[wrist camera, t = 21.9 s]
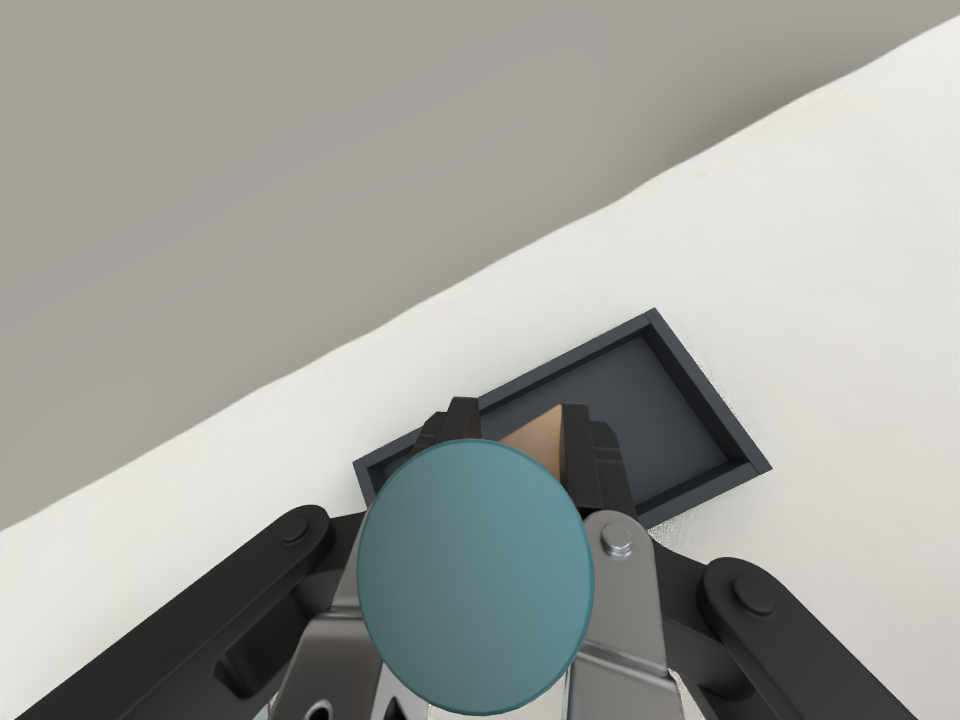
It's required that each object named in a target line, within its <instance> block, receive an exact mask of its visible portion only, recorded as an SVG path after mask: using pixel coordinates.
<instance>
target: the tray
mask: <svg viewBox="0 0 960 720" xmlns="http://www.w3.org/2000/svg"><path fill="white" fill-rule="evenodd" d="M477 399H478V403H479V413H480V424H481V435H482V439H485V440H490V441H495V442H498V441H499V440H501V439H503V438H504V437H506V436H508V435H509V434H511V433H513V432H514V431H516V430H517V429H519V428H521V427H522V426H524V425H526V424H527V423H529V422H531V421H532V420H534V419H535V418H537V417H539V416H540V415H542V414H544V413H545V412H547V411H548V410H550V409H552V408H553V407H555V406H557V405H559V404H560V405H561V406H562V402H573V403H587V404H588V409H589V415H590V421H604V422H607V423H608V424H609V426H610V427H611V428H612V429H613V430H614V432H615V433H616V434H617V437H618V441H619V445H620V449H621V450H620V451H621V453H622V457H623V461H624V462H623V464H624V465H625V470H626V474H627V478H628V482H629V486H630V490H631V494H632V498H633V502H634V507H635V511H636V514H637V517H638V520H639V522H640V524H641V525H642V527H643V528H644V529H645V530H648V529H650V528H652V527H654V526H656V525H658V524H660V523H662V522H664V521H666V520H669V519H671V518H673V517H675V516H677V515H679V514H681V513H683V512H685V511H687V510H689V509H691V508H693V507H695V506H697V505H699V504H701V503H703V502H706V501H708V500H710V499H712V498H714V497H716V496H718V495H720V494H722V493H724V492H726V491H728V490H730V489H732V488H734V487H736V486H738V485H740V484H743V483H745V482H747V481H749V480H751V479H753V478H755V477H757V476H758V475H761V474H763V473H766V472H768V471H770V470H772V469H773V468H772V466H771V465H770V464H769V462H768V461H767V459H766V458H765V457H764V455H763V454H762V453H761V451H760V450H759V449H758V447H757V446H756V444H755V443H754V442H753V440H752V439H751V438H750V436H749V435H748V434H747V432H746V431H745V429H744V428H743V427H742V425H741V424H740V423H739V421H738V420H737V419H736V417H735V416H734V414H733V413H732V412H731V410H730V409H729V408H728V406H727V405H726V404H725V402H724V401H723V399H722V398H721V397H720V395H719V394H718V393H717V391H716V390H715V388H714V387H713V386H712V384H711V383H710V382H709V380H708V379H707V378H706V376H705V375H704V373H703V372H702V371H701V369H700V368H699V367H698V365H697V364H696V363H695V361H694V360H693V358H692V357H691V356H690V354H689V353H688V352H687V350H686V349H685V348H684V346H683V345H682V343H681V342H680V341H679V339H678V338H677V337H676V335H675V334H674V333H673V331H672V330H671V328H670V327H669V326H668V324H667V323H666V322H665V320H664V319H663V318H662V316H661V315H660V313H659V312H658V311H657V309H656V308H653V309H651V310H649V311H647V312H645V313H644V314H641V315H639V316H637V317H635V318H633V319H631V320H629V321H627V322H625V323H623V324H621V325H620V326H618V327H616V328H614V329H612V330H610V331H608V332H606V333H604V334H602V335H600V336H598V337H596V338H594V339H592V340H590V341H588V342H586V343H584V344H582V345H580V346H578V347H576V348H574V349H573V350H571V351H569V352H567V353H565V354H563V355H561V356H559V357H557V358H555V359H553V360H551V361H549V362H547V363H545V364H543V365H541V366H539V367H537V368H535V369H533V370H531V371H529V372H527V373H526V374H524V375H522V376H520V377H518V378H516V379H514V380H512V381H510V382H508V383H506V384H504V385H502V386H500V387H498V388H496V389H494V390H492V391H490V392H488V393H486V394H484V395H482V396H480V397H479V398H477ZM422 428H423V426H422V427H420V428H418V429H416V430H414V431H412V432H410V433H408V434H406V435H404V436H402V437H400V438H398V439H396V440H394V441H392V442H390V443H388V444H387V445H385V446H383V447H381V448H379V449H377V450H375V451H373V452H371V453H369V454H367V455H365V456H363V457H361V458H359V459H357V460H355V461H354V462H353V466H354V469H355V472H356V475H357V478H358V481H359V484H360V488H361V491H362V494H363V497H364V500H365V503H366V506H367V509H368V507H369V506H370V505H371V503H372V502H373V501H374V500H375V498H376V496H377V495H378V493H379V492H380V490H381V489H382V487H383V486H384V484H385V483H386V482H387V480H388V479H389V478H390V477H391V476H392V475H393V473H394V472H395V471H396V470H397V469H399V468H400V467H401V466H402V465H403V464H404V463H405V462H406V461H407V459H408V457H409V455H410V453H411V451H412V448H414V444H415V442H416V440H417V438H418V437H419V434H420V432H421V430H422Z"/></svg>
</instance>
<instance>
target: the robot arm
mask: <svg viewBox="0 0 960 720" xmlns="http://www.w3.org/2000/svg"><path fill="white" fill-rule="evenodd" d="M457 439H482V435H481V424H480V413H479V403H478V399H477V398H473V397H453V399H452V401H451V403H450V406H449V408H448V410H447V412H436V413H435V414H434V415H432V416H431V417H430V418H429V419H428V420H427V421H426V422H425V424H424V426H423V428H422V430H421V432H420V434H419V437H418V438H417V440H416V442H415V444H414V448H412V451H411V453H410V455H409V457H408V459H407V461H408V460H409V459H411V458H412V457H413V456H415V455H416V454H418V453H420V452H422V451H424V450H426V449H427V448H429V447H432V446H435V445H437V444H440V443H443V442H447V441H452V440H457ZM620 450H621V449H620V445H619V441H618V437H617V434H616V433H615V432H614V430H613V429H612V428H611V427H610V426H609V424H608V423H607V422H604V421H590V415H589V409H588V404H587V403H573V402H562V408H561V425H560V443H559V467H560V484H561V485H562V486H563V488H564V489H565V490H566V492H567V493H568V495H569V496H570V498H571V499H572V501H573V503H574V505H575V506H576V508H577V510H578V512H579V514H580V516H581V519H582V521H583V524H584V526H585V529H586V531H587V535H588V539H589V542H590V546H591V550H592V557H593V564H594V580H595V590H594V600H593V609H592V613H591V618H590V622H589V626H588V629H587V632H586V635H585V637H584V640H583V643H582V645H581V647H580V649H579V651H578V653H577V655H576V656H575V658H574V660H573V662H572V663H571V665H570V666H569V667H568V669H567V670H566V675H565V687H564V698H563V709H562V719H561V720H685V719H684V712H683V706H682V701H681V697H680V693H679V689H678V686H677V684H676V681H675V680H674V678H673V677H672V676H671V675H670V673H669V670H668V668H670V669H672V670H673V671H675V672H677V673H678V674H679V676H680V678H681V679H682V681H683V683H684V684H685V686H686V687H687V689H688V691H689V692H690V694H691V696H692V697H693V699H694V701H695V702H696V704H697V705H698V707H699V709H700V710H701V712H702V714H703V715H704V717H705V719H706V720H918V719H917V718H916V717H915V716H914V715H913V714H912V713H911V712H910V711H909V710H908V709H907V708H906V707H905V706H904V705H903V704H902V703H901V702H900V701H899V700H898V699H897V698H896V697H895V696H894V695H893V694H892V693H891V692H890V691H889V690H888V689H887V688H886V687H885V686H884V685H883V684H882V683H881V682H880V681H879V680H878V679H877V678H876V677H875V676H874V675H873V674H872V673H871V672H870V671H869V670H868V669H867V668H866V667H865V666H864V665H863V664H862V663H861V662H860V661H859V660H858V659H857V658H856V657H855V656H854V655H853V654H852V653H851V652H850V651H849V650H848V649H847V648H846V647H845V646H844V645H843V644H842V643H841V642H840V641H839V640H838V639H837V638H836V637H835V636H834V635H833V634H832V633H831V632H830V631H829V630H828V629H827V628H826V627H825V626H824V625H823V624H822V623H821V622H820V621H819V620H818V619H817V618H816V617H815V616H814V615H813V614H812V613H811V612H810V611H809V610H808V609H807V608H806V607H805V606H804V605H803V604H802V603H801V602H800V601H799V600H798V599H797V598H796V597H795V596H794V595H793V594H792V593H791V592H790V591H789V590H788V589H787V588H786V587H785V586H784V585H782V584H781V583H780V582H779V581H778V580H777V579H776V578H775V577H773V576H772V575H771V574H769V573H768V572H767V571H765V570H763V569H762V568H760V567H758V566H756V565H754V564H752V563H750V562H747V561H745V560H742V559H738V558H732V557H722V558H718V559H715V560H713V561H711V562H710V563H709V564H708V565H704V564H702V563H699V562H697V561H694V560H692V559H690V558H687V557H685V556H682V555H680V554H677V553H675V552H673V551H671V550H669V549H667V548H665V547H664V546H662V545H661V544H659V543H658V542H657V541H655V540H654V539H653V538H652V537H651V536H650V535H649V534H648V533H647V532H646V530H645V529H644V528H643V527H642V525H641V524H640V522H639V520H638V517H637V514H636V511H635V507H634V502H633V498H632V494H631V490H630V486H629V482H628V478H627V474H626V470H625V465H624V464H623V462H624V461H623V457H622V453H621V451H620ZM373 502H374V501H373ZM373 502H372V503H371V505H370V506H369V507H368V509H367V511H364V512H360V513H356V514H351V515H346V516H340V517H335V518H329V516H328V514H327V512H326V510H325V509H324V508H322V507H320V506H317V505H304V506H300V507H297V508H295V509H292V510H290V511H288V512H287V513H285V514H284V515H282V516H281V517H279V518H278V519H277V520H275V521H274V522H273V523H272V524H270V525H269V526H268V527H266V528H265V529H264V530H262V531H261V532H260V533H258V534H257V535H256V536H254V537H253V538H252V539H251V540H249V541H248V542H247V543H245V544H244V545H243V546H241V547H240V548H239V549H237V550H236V551H235V552H234V553H232V554H231V555H230V556H228V557H227V558H226V559H224V560H223V561H222V562H220V563H219V564H218V565H216V566H215V567H214V568H213V569H211V570H210V571H209V572H207V573H206V574H205V575H203V576H202V577H201V578H199V579H198V580H197V581H195V582H194V583H193V584H192V585H190V586H189V587H188V588H186V589H185V590H184V591H182V592H181V593H180V594H178V595H177V596H176V597H174V598H173V599H172V600H171V601H169V602H168V603H167V604H165V605H164V606H163V607H161V608H160V609H159V610H157V611H156V612H155V613H154V614H152V615H151V616H150V617H148V618H147V619H146V620H144V621H143V622H142V623H140V624H139V625H138V626H136V627H135V628H134V629H133V630H131V631H130V632H129V633H127V634H126V635H125V636H123V637H122V638H121V639H119V640H118V641H117V642H115V643H114V644H113V645H112V646H110V647H109V648H108V649H106V650H105V651H104V652H102V653H101V654H100V655H98V656H97V657H96V658H95V659H93V660H92V661H91V662H89V663H88V664H87V665H85V666H84V667H83V668H81V669H80V670H79V671H77V672H76V673H75V674H74V675H72V676H71V677H70V678H68V679H67V680H66V681H64V682H63V683H62V684H60V685H59V686H58V687H56V688H55V689H54V690H53V691H51V692H50V693H49V694H47V695H46V696H45V697H43V698H42V699H41V700H39V701H38V702H37V703H36V704H34V705H33V706H32V707H30V708H29V709H28V710H26V711H25V712H24V713H22V714H21V715H20V716H18V717H17V718H16V719H15V720H253V719H254V718H255V716H256V715H257V714H258V713H259V712H260V711H261V710H262V709H263V708H264V706H265V705H266V704H267V703H268V702H269V701H270V700H271V699H272V698H273V696H274V695H275V694H276V693H277V692H278V691H279V692H278V694H277V697H276V699H275V702H274V704H273V706H272V709H271V711H270V714H269V716H268V719H267V720H427V718H428V705H429V703H428V702H426V701H425V700H423V699H421V698H419V697H418V696H416V695H415V694H414V693H413V692H411V691H410V690H409V689H408V688H406V687H405V686H404V685H403V684H402V683H401V682H400V681H399V680H398V679H397V678H396V677H395V676H394V675H393V674H392V673H391V671H390V670H389V669H388V667H387V666H386V664H385V663H384V662H383V660H382V659H381V657H380V656H379V654H378V652H377V650H376V649H375V647H374V645H373V643H372V641H371V639H370V636H369V634H368V631H367V629H366V627H365V623H364V620H363V616H362V613H361V610H360V604H359V598H358V593H357V578H356V568H357V554H358V547H359V541H360V537H361V533H362V529H363V526H364V523H365V520H366V518H367V515H368V512H369V510H370V508H371V506H372V504H373Z"/></svg>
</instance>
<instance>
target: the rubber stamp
mask: <svg viewBox="0 0 960 720" xmlns="http://www.w3.org/2000/svg"><path fill="white" fill-rule="evenodd" d="M561 408H562V406H561V405H560V404H559V405H557V406H555V407H553V408H552V409H550V410H548V411H547V412H545V413H544V414H542V415H540V416H539V417H537V418H535V419H534V420H532V421H531V422H529V423H527V424H526V425H524V426H522V427H521V428H519V429H517V430H516V431H514V432H513V433H511V434H509V435H508V436H506V437H504V438H503V439H501V440H499V441H498V442H495V441H490V440H485V439H457V440H452V441H447V442H443V443H440V444H437V445H435V446H432V447H429V448H427V449H426V450H424V451H422V452H420V453H418V454H416V455H415V456H413V457H412V458H411V459H409V460H408V461H406V462H405V463H404V464H403V465H402V466H401V467H400V468H399V469H397V470H396V471H395V472H394V473H393V475H392V476H391V477H390V478H389V479H388V480H387V482H386V483H385V484H384V486H383V487H382V489H381V490H380V492H379V493H378V495H377V496H376V498H375V500H374V502H373V504H372V506H371V508H370V510H369V512H368V515H367V518H366V520H365V523H364V526H363V529H362V533H361V537H360V541H359V547H358V554H357V568H356V578H357V593H358V598H359V604H360V610H361V613H362V616H363V620H364V623H365V627H366V629H367V631H368V634H369V636H370V639H371V641H372V643H373V645H374V647H375V649H376V650H377V652H378V654H379V656H380V657H381V659H382V660H383V662H384V663H385V664H386V666H387V667H388V669H389V670H390V671H391V673H392V674H393V675H394V676H395V677H396V678H397V679H398V680H399V681H400V682H401V683H402V684H403V685H404V686H405V687H406V688H408V689H409V690H410V691H411V692H413V693H414V694H415V695H416V696H418V697H419V698H421V699H423V700H425V701H426V702H428V703H430V704H431V705H433V706H436V707H438V708H441V709H443V710H446V711H449V712H453V713H457V714H462V715H468V716H489V715H497V714H502V713H506V712H509V711H512V710H515V709H518V708H520V707H522V706H524V705H526V704H528V703H530V702H532V701H534V700H535V699H537V698H538V697H539V696H541V695H542V694H543V693H545V692H546V691H547V690H549V689H550V688H551V687H552V686H553V685H554V684H555V683H556V682H557V681H558V680H559V679H560V678H561V677H562V676H563V674H564V673H565V671H566V670H567V669H568V667H569V666H570V665H571V663H572V662H573V660H574V658H575V656H576V655H577V653H578V651H579V649H580V647H581V645H582V643H583V640H584V637H585V635H586V632H587V629H588V626H589V622H590V618H591V613H592V609H593V600H594V590H595V580H594V564H593V557H592V550H591V546H590V542H589V539H588V535H587V531H586V529H585V526H584V524H583V521H582V519H581V516H580V514H579V512H578V510H577V508H576V506H575V505H574V503H573V501H572V499H571V498H570V496H569V495H568V493H567V492H566V490H565V489H564V488H563V486H562V485H561V484H560V467H559V443H560V425H561Z"/></svg>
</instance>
